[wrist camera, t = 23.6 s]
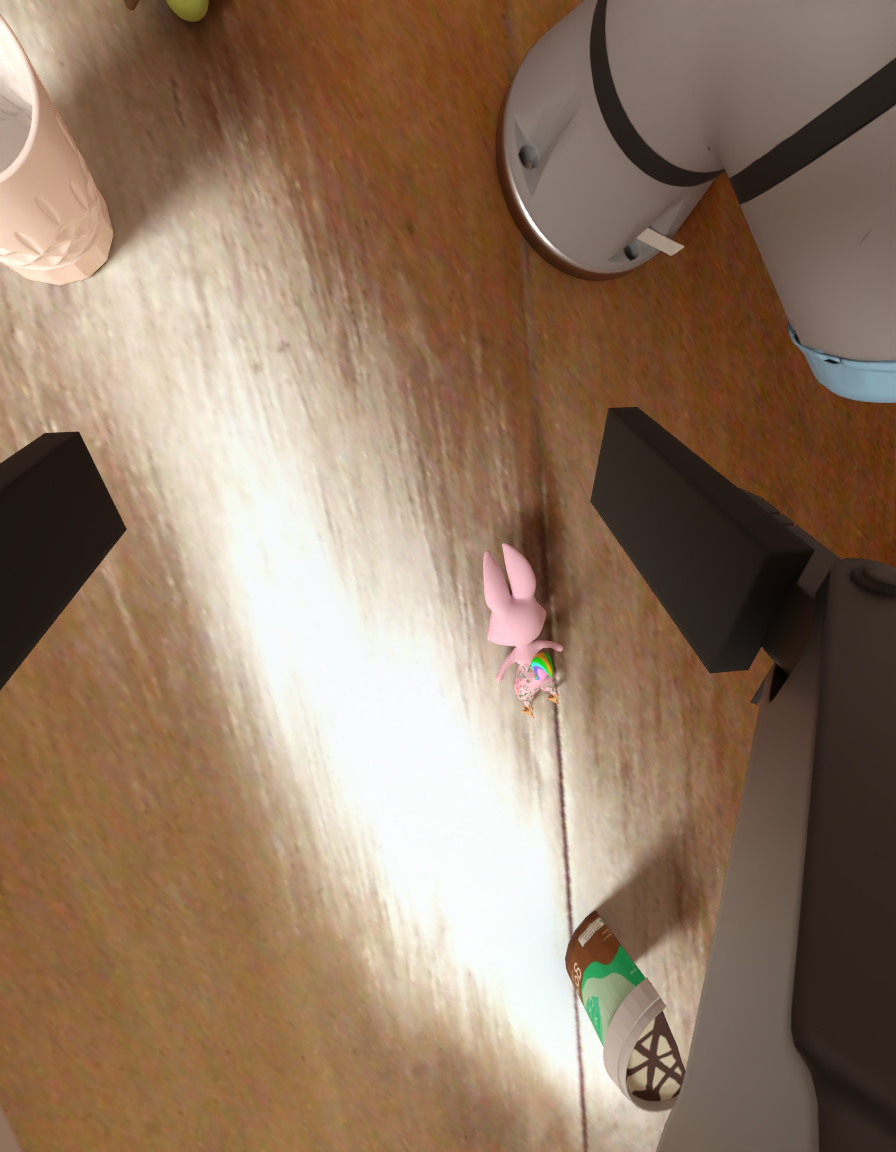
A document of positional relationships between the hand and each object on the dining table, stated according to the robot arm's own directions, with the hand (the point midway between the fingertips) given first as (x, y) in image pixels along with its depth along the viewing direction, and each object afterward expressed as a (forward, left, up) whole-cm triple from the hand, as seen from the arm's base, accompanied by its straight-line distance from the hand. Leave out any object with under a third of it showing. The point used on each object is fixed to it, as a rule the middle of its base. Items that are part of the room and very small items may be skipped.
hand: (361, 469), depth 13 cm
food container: (+30, +42, -22) cm, 56 cm away
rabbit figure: (+3, +18, -22) cm, 29 cm away
